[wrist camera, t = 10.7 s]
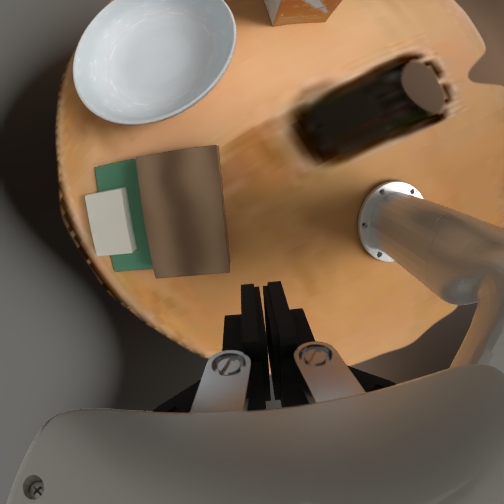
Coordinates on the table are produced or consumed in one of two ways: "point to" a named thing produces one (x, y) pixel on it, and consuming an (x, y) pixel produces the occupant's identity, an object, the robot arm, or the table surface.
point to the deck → (184, 211)
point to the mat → (128, 177)
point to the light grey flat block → (111, 222)
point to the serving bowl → (152, 58)
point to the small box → (299, 11)
